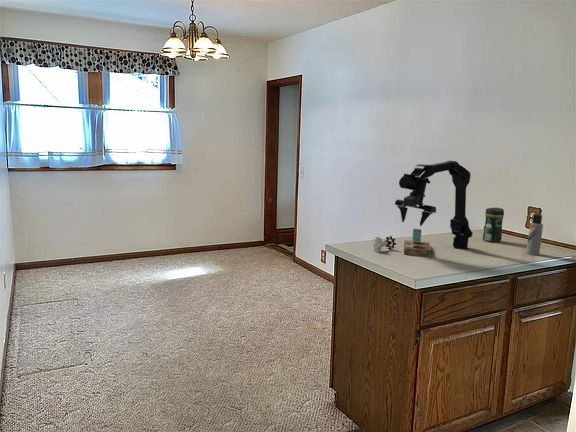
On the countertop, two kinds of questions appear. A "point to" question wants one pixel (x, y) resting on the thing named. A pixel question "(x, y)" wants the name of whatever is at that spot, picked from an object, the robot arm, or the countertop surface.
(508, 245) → the countertop surface
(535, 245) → the lotion bottle
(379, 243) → the valve
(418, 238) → the plug
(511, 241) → the countertop surface
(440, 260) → the countertop surface
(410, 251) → the socket plate
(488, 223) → the coffee jar
